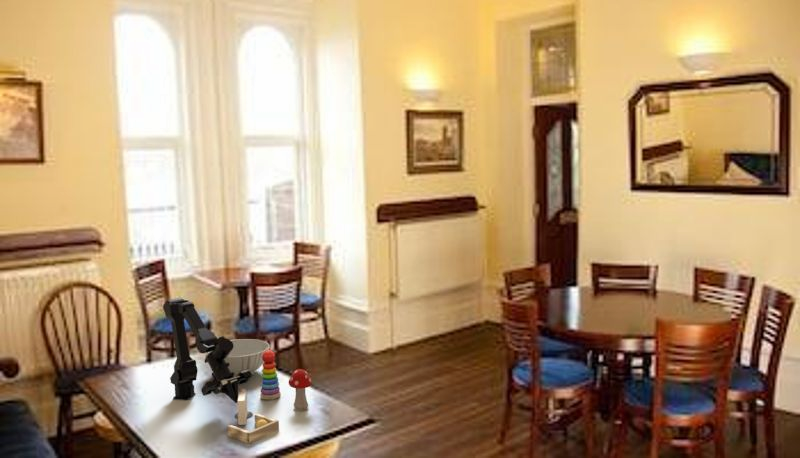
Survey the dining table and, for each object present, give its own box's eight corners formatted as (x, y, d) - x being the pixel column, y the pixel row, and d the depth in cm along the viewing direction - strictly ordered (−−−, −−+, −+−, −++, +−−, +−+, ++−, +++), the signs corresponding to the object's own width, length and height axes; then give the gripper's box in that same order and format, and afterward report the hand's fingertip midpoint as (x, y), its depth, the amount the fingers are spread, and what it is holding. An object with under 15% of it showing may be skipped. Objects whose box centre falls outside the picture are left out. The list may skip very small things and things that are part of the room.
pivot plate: (231, 415, 250) (231, 415, 250) (245, 410, 255) (245, 409, 255) (241, 420, 246) (241, 419, 246) (256, 415, 251) (256, 414, 251)
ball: (252, 430, 235) (256, 420, 234) (258, 425, 239) (261, 415, 238) (262, 435, 234) (266, 425, 233) (268, 430, 238) (271, 420, 237)
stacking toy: (284, 394, 271) (282, 348, 269) (274, 401, 264) (272, 354, 262) (266, 392, 274) (265, 347, 272) (256, 399, 266) (254, 352, 264)
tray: (228, 435, 233) (227, 425, 232) (257, 422, 243) (257, 413, 243) (249, 443, 226) (249, 433, 226) (279, 430, 237) (278, 420, 236)
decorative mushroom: (286, 405, 260) (285, 367, 258) (308, 401, 263) (307, 364, 261) (293, 414, 251) (291, 375, 249) (315, 410, 254) (314, 371, 252)
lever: (238, 425, 240) (237, 399, 239) (240, 413, 251) (239, 389, 250) (245, 424, 241) (244, 399, 240) (247, 413, 251) (246, 388, 250)
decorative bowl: (263, 384, 283) (262, 356, 281) (199, 385, 283) (198, 357, 282) (276, 364, 309) (275, 338, 308) (217, 365, 310) (216, 339, 308)
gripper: (231, 371, 262) (249, 406, 256) (188, 383, 248) (206, 420, 243) (243, 355, 256) (261, 391, 250) (199, 367, 242) (217, 405, 236)
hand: (237, 402), depth 245 cm, fingers closed
